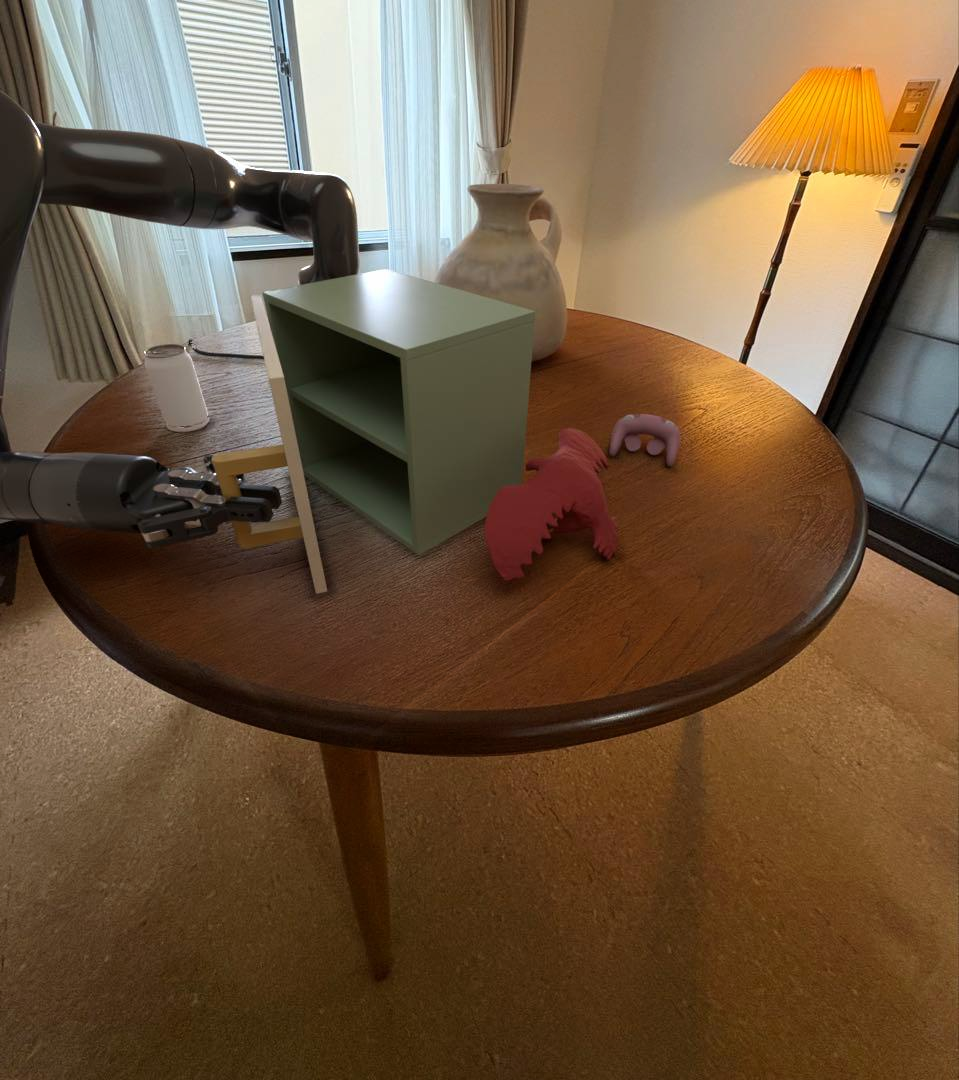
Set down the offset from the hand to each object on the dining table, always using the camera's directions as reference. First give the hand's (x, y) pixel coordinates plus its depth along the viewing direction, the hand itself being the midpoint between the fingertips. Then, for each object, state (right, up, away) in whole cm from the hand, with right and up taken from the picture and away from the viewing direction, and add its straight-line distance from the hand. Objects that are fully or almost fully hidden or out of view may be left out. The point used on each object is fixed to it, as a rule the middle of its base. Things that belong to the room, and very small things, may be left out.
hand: (274, 504), depth 53 cm
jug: (+24, +37, +67) cm, 81 cm away
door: (-5, -2, +15) cm, 16 cm away
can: (-27, +15, +37) cm, 48 cm away
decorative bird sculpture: (+30, -3, +15) cm, 34 cm away
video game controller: (+44, +9, +32) cm, 55 cm away
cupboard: (+10, +4, +24) cm, 26 cm away
